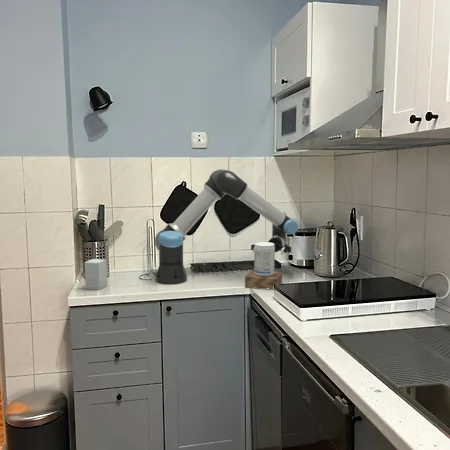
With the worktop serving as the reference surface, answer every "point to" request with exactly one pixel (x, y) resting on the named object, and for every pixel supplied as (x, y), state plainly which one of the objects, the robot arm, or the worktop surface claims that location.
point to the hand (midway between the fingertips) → (267, 251)
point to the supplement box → (95, 274)
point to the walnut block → (262, 280)
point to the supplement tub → (264, 258)
